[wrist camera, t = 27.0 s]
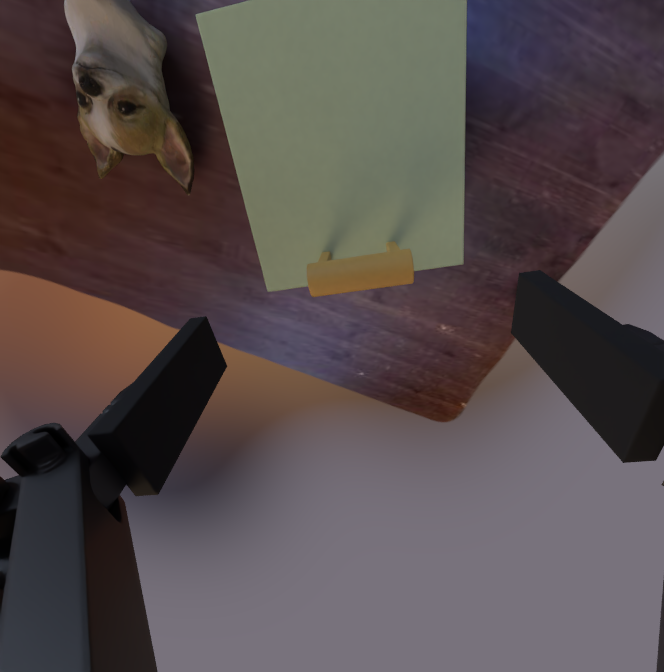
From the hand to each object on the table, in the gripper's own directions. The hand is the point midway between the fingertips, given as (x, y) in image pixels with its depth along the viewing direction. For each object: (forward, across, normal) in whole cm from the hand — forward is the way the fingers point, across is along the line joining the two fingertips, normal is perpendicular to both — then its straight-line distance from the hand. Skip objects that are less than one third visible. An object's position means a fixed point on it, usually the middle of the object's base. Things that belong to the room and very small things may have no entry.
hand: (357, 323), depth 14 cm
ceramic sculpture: (+26, -19, +13) cm, 35 cm away
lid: (+14, 0, +6) cm, 15 cm away
